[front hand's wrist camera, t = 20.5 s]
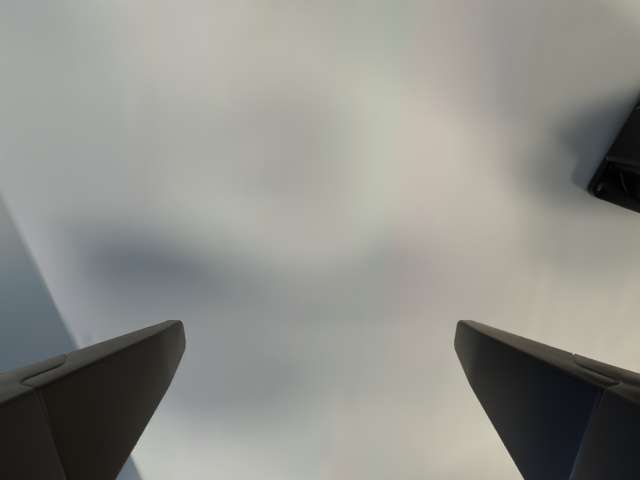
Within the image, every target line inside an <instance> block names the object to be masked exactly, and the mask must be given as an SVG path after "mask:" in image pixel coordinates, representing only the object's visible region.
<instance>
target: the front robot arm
mask: <svg viewBox="0 0 640 480" xmlns="http://www.w3.org/2000/svg"><path fill="white" fill-rule="evenodd" d="M600 185H601V186H602V187H601V189H600V190H599V191H597V189H598V187H599V186H600ZM587 191H588V193H589V195H591V196H593V197H596V198H599V199H602V200H604V201H607V202H610V203H613V204H616V205H618V206H621V207H624V208H627V209H630V210H632V211H635V212H638V213H640V99H639V101H638V103H637V104H636V106H635V108H634V110H633V111H632V113H631V114H630V116H629V118H628V119H627V121H626V123H625V124H624V126H623V128H622V129H621V131H620V133H619V135H618V136H617V138H616V140H615V141H614V143H613V145H612V146H611V148H610V150H609V151H608V153H607V155H606V156H605V158H604V160H603V161H602V163H601V165H600V167H599V168H598V170H597V172H596V173H595V175H594V177H593V178H592V180H591V182H590V183H589V185H588V188H587ZM185 347H186V340H185V334H184V327H183V323H182V321H180V320H168V321H165V322H162V323H159V324H156V325H153V326H150V327H147V328H144V329H141V330H138V331H135V332H132V333H129V334H125V335H122V336H119V337H116V338H113V339H110V340H107V341H104V342H101V343H98V344H95V345H92V346H89V347H86V348H83V349H80V350H76V351H73V352H70V353H68V354H67V355H66V354H63V355H60V356H57V357H54V358H51V359H47V360H44V361H41V362H38V363H35V364H31V365H28V366H25V367H21V368H18V369H15V370H11V371H8V372H4V373H1V374H0V480H116V478H117V476H118V475H119V473H120V471H121V469H122V468H123V466H124V464H125V462H126V461H127V459H128V457H129V456H130V454H131V452H132V450H133V449H134V447H135V445H136V443H137V442H138V440H139V438H140V436H141V435H142V433H143V431H144V429H145V428H146V426H147V424H148V422H149V421H150V419H151V417H152V416H153V414H154V412H155V410H156V409H157V407H158V405H159V403H160V402H161V400H162V398H163V396H164V395H165V393H166V391H167V389H168V388H169V386H170V384H171V382H172V379H173V377H174V375H175V372H176V370H177V367H178V365H179V363H180V360H181V358H182V355H183V353H184V351H185ZM454 347H455V351H456V353H457V355H458V358H459V360H460V363H461V365H462V367H463V370H464V372H465V375H466V377H467V379H468V382H469V384H470V386H471V388H472V389H473V391H474V393H475V395H476V396H477V398H478V400H479V402H480V403H481V405H482V407H483V409H484V410H485V412H486V414H487V416H488V417H489V419H490V421H491V422H492V424H493V426H494V428H495V429H496V431H497V433H498V435H499V436H500V438H501V440H502V442H503V443H504V445H505V447H506V449H507V450H508V452H509V454H510V456H511V457H512V459H513V461H514V463H515V464H516V466H517V468H518V469H519V471H520V473H521V475H522V476H523V478H524V480H640V374H639V373H636V372H632V371H629V370H625V369H622V368H619V367H615V366H612V365H609V364H606V363H602V362H599V361H596V360H593V359H590V358H586V357H583V356H580V355H577V354H574V355H573V354H572V353H570V352H567V351H564V350H560V349H557V348H554V347H551V346H548V345H545V344H542V343H539V342H536V341H533V340H530V339H527V338H524V337H521V336H518V335H515V334H511V333H508V332H505V331H502V330H499V329H496V328H493V327H490V326H487V325H484V324H481V323H478V322H475V321H472V320H460V321H458V323H457V327H456V334H455V340H454Z"/></svg>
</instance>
